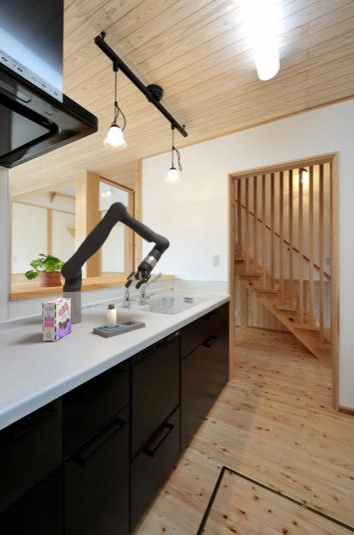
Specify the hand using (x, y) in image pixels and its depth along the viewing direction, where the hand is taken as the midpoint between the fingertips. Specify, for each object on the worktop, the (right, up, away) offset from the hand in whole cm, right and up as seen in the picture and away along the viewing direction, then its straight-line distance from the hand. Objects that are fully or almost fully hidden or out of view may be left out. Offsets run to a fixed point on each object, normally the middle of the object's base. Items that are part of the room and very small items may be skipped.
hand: (131, 287), depth 117 cm
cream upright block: (-7, -20, -10) cm, 24 cm away
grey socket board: (-4, -20, -6) cm, 21 cm away
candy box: (-30, -21, -16) cm, 39 cm away
